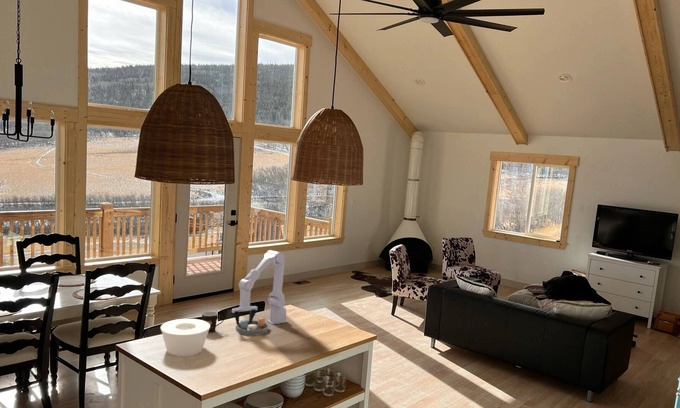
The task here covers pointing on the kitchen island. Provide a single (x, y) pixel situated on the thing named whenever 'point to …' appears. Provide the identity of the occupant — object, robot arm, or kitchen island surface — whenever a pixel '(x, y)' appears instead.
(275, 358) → the kitchen island surface
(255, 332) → the groove tray
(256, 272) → the robot arm
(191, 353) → the bowl
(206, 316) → the coffee mug
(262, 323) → the terracotta bead
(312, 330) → the kitchen island surface
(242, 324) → the slate bead
